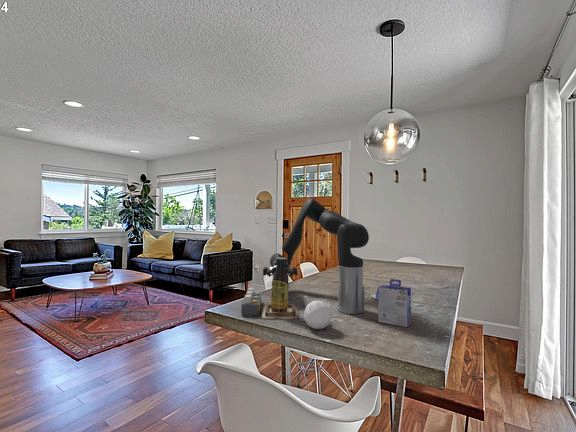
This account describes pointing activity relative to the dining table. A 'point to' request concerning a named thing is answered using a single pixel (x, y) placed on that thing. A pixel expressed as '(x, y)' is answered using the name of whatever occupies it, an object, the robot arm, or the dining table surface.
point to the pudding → (376, 294)
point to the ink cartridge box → (394, 304)
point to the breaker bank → (251, 303)
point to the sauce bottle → (280, 287)
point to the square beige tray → (280, 313)
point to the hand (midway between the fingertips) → (280, 274)
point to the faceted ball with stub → (317, 315)
